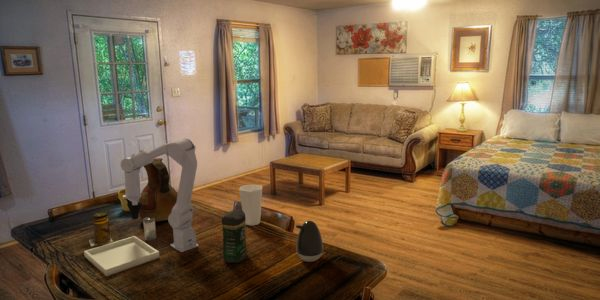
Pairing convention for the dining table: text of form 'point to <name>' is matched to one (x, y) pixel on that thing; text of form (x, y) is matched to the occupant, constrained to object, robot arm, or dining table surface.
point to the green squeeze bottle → (234, 236)
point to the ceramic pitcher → (157, 193)
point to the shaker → (149, 228)
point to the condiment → (101, 229)
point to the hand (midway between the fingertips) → (134, 215)
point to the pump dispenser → (309, 242)
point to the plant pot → (123, 200)
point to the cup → (251, 203)
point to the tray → (121, 255)
